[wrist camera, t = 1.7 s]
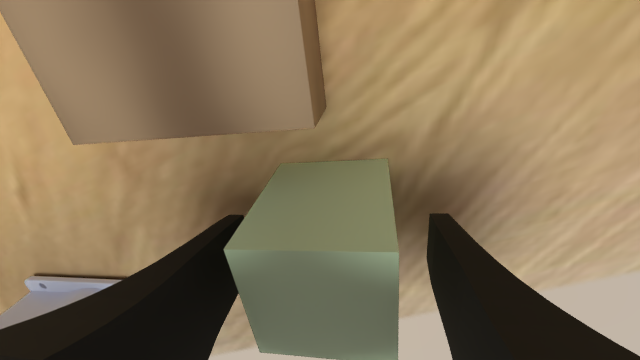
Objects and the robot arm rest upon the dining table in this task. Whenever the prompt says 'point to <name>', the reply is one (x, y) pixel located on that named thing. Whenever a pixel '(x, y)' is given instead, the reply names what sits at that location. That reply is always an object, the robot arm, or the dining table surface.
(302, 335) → the green block
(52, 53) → the walnut base
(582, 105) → the dining table surface
